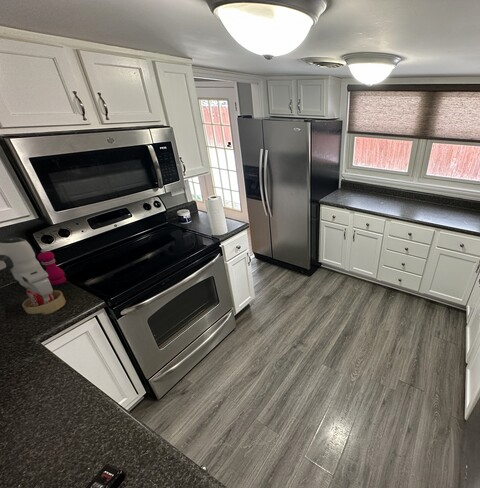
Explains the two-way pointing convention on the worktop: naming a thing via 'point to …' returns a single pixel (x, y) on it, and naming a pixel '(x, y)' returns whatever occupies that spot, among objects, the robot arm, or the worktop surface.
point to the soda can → (37, 298)
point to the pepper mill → (51, 267)
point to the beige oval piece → (47, 307)
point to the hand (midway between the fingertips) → (41, 297)
